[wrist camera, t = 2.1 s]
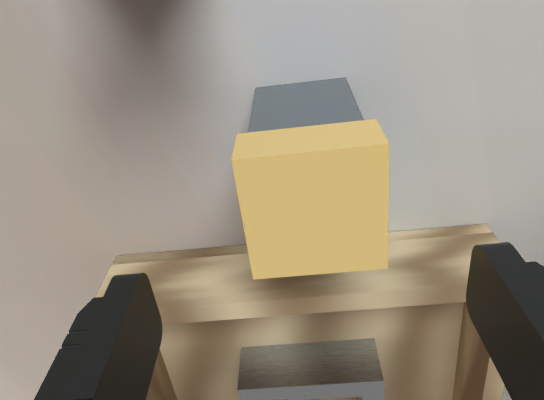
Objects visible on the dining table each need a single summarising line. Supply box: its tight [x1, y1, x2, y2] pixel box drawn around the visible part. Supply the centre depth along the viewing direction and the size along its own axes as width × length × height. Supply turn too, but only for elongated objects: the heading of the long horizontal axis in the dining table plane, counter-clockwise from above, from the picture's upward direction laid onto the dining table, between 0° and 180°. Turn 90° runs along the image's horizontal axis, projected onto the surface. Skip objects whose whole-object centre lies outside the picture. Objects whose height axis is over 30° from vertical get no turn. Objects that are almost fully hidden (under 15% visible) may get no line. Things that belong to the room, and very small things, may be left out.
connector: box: [231, 78, 389, 280], centre depth 18 cm, size 5×5×8 cm
